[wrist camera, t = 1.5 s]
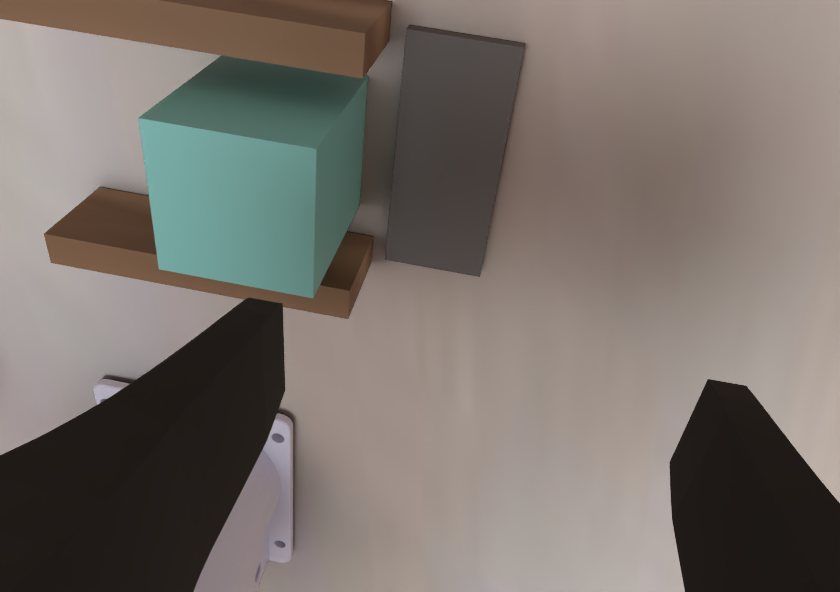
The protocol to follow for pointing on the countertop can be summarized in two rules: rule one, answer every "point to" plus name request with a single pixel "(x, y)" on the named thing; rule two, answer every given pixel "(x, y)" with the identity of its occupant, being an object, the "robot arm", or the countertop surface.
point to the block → (255, 173)
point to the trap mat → (449, 146)
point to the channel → (229, 36)
